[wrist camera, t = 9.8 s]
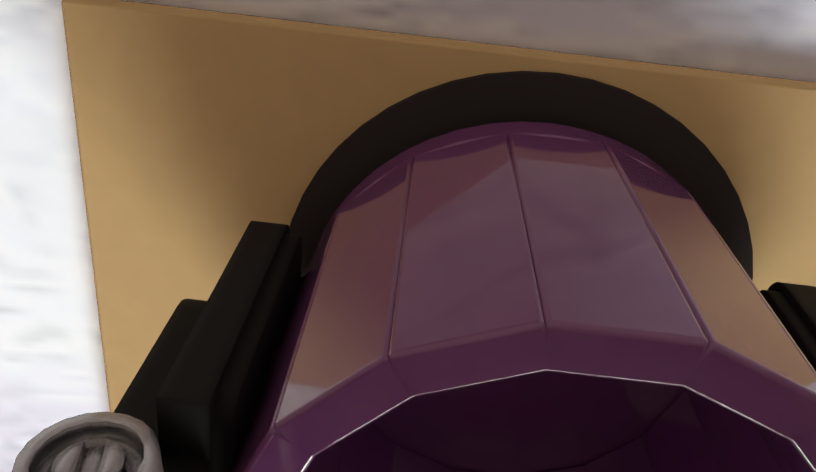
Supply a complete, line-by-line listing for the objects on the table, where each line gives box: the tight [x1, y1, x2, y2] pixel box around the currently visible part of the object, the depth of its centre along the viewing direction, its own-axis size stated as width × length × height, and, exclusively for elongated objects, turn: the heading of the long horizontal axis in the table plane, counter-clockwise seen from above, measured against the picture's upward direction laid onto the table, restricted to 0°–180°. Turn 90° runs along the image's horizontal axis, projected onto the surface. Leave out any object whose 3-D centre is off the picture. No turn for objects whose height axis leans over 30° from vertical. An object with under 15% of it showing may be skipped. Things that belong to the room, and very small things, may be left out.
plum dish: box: [233, 121, 816, 472], centre depth 9 cm, size 7×7×5 cm
